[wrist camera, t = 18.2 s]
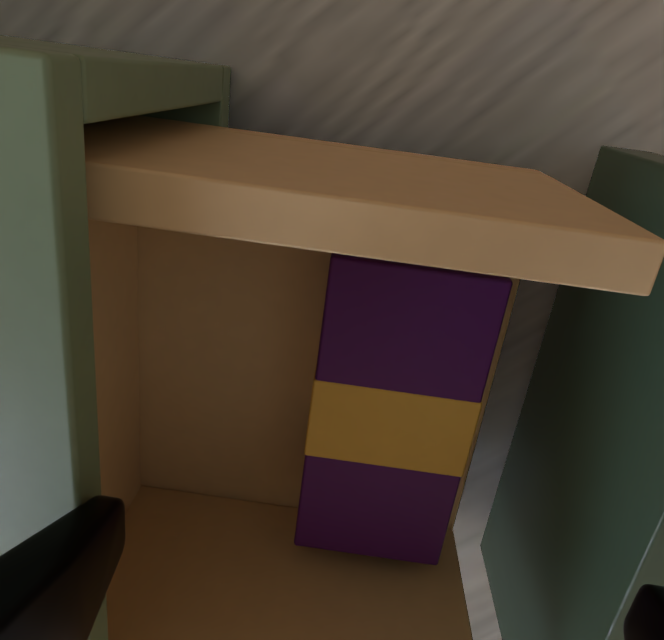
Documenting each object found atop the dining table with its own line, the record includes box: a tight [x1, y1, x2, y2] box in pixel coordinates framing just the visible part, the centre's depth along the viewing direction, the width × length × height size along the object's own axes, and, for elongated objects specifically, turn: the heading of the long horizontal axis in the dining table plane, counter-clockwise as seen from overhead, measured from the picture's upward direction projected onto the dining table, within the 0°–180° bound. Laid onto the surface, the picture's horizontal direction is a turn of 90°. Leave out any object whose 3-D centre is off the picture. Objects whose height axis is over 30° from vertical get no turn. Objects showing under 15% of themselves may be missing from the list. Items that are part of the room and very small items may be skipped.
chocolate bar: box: [294, 253, 513, 565], centre depth 14 cm, size 8×4×2 cm, turn 173°
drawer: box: [83, 115, 664, 640], centre depth 13 cm, size 17×12×7 cm
